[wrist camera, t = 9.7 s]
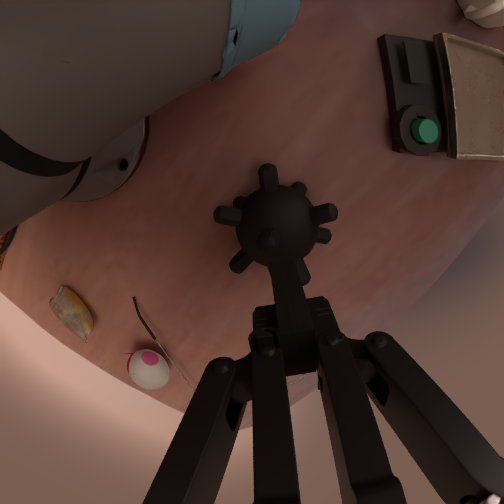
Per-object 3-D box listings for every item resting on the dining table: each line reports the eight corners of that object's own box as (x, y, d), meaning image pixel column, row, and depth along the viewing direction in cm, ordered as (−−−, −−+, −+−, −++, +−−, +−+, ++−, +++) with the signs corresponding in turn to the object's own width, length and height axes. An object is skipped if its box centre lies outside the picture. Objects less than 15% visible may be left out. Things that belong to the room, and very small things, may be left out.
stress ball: (127, 321, 37) (102, 359, 33) (176, 349, 36) (150, 392, 32) (141, 341, 43) (119, 374, 39) (183, 365, 42) (162, 401, 38)
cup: (499, 17, 18) (545, 9, 9) (470, 49, 22) (524, 42, 12) (464, -28, 15) (506, -45, 6) (429, -3, 19) (477, -25, 10)
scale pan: (416, 156, 25) (426, 159, 23) (399, 29, 19) (408, 25, 18) (516, 158, 24) (526, 161, 22) (507, 58, 18) (518, 57, 17)
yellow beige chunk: (107, 314, 36) (91, 337, 32) (98, 326, 38) (83, 348, 34) (64, 277, 34) (45, 297, 30) (58, 293, 36) (41, 312, 32)
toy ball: (302, 297, 32) (194, 286, 28) (300, 210, 35) (203, 188, 31) (370, 277, 23) (231, 256, 18) (357, 168, 26) (239, 127, 22)
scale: (387, 152, 28) (401, 156, 25) (371, 37, 23) (385, 29, 20) (500, 152, 27) (517, 157, 24) (492, 61, 22) (509, 60, 18)
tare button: (411, 141, 25) (420, 143, 23) (409, 118, 24) (418, 118, 22) (429, 141, 25) (438, 143, 23) (428, 119, 24) (437, 119, 22)
